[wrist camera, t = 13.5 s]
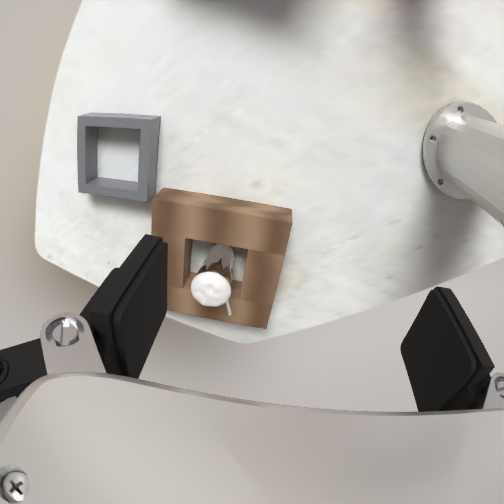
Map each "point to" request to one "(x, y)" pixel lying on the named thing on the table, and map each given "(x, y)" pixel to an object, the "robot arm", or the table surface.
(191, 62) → the table surface
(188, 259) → the socket block
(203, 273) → the milkshake
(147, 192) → the grey square frame
